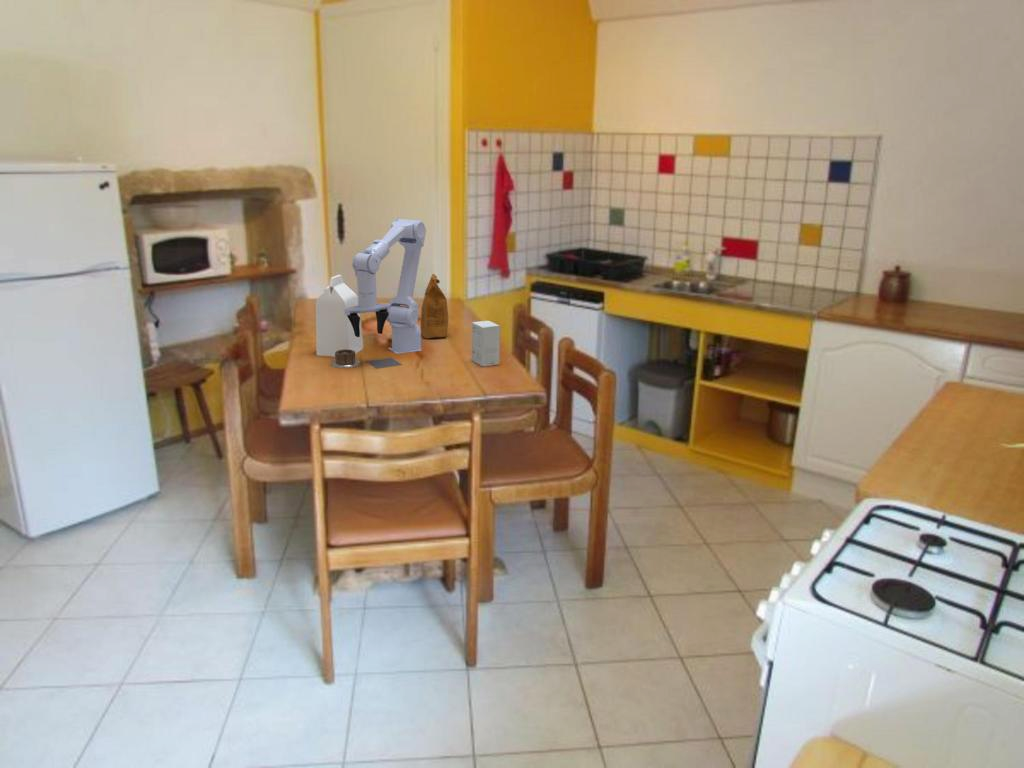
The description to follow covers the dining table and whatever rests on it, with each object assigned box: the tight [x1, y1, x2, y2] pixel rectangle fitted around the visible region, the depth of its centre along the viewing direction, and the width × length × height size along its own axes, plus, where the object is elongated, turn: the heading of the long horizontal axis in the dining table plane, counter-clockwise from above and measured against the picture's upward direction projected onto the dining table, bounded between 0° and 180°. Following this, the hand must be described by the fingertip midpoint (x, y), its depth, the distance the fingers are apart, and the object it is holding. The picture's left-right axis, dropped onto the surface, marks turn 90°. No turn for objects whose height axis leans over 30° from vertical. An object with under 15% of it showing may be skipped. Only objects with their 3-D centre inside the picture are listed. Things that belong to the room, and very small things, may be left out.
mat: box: [365, 357, 403, 370], centre depth 239 cm, size 9×9×1 cm
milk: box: [315, 274, 364, 358], centre depth 247 cm, size 12×12×26 cm
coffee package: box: [420, 273, 449, 339], centre depth 273 cm, size 10×12×22 cm
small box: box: [471, 320, 501, 367], centre depth 242 cm, size 8×6×13 cm
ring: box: [334, 349, 356, 365], centre depth 237 cm, size 6×6×4 cm
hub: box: [330, 352, 361, 369], centre depth 237 cm, size 9×9×4 cm
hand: (368, 334), depth 236 cm, fingers open, 7 cm apart
